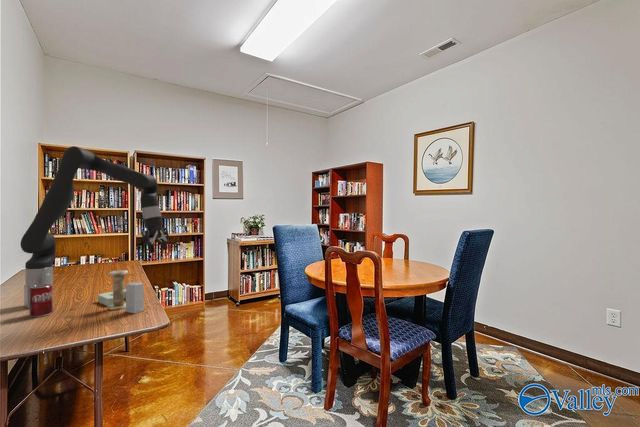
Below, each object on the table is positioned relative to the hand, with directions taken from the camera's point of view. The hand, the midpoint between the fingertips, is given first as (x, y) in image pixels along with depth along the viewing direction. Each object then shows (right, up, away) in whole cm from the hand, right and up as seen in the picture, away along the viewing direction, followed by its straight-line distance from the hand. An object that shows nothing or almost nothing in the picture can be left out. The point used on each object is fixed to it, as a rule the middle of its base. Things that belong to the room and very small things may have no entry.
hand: (159, 251), depth 143 cm
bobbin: (-15, -24, -5) cm, 29 cm away
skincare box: (-5, -25, -10) cm, 27 cm away
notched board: (-22, -24, +5) cm, 33 cm away
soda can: (-41, -25, -15) cm, 50 cm away
